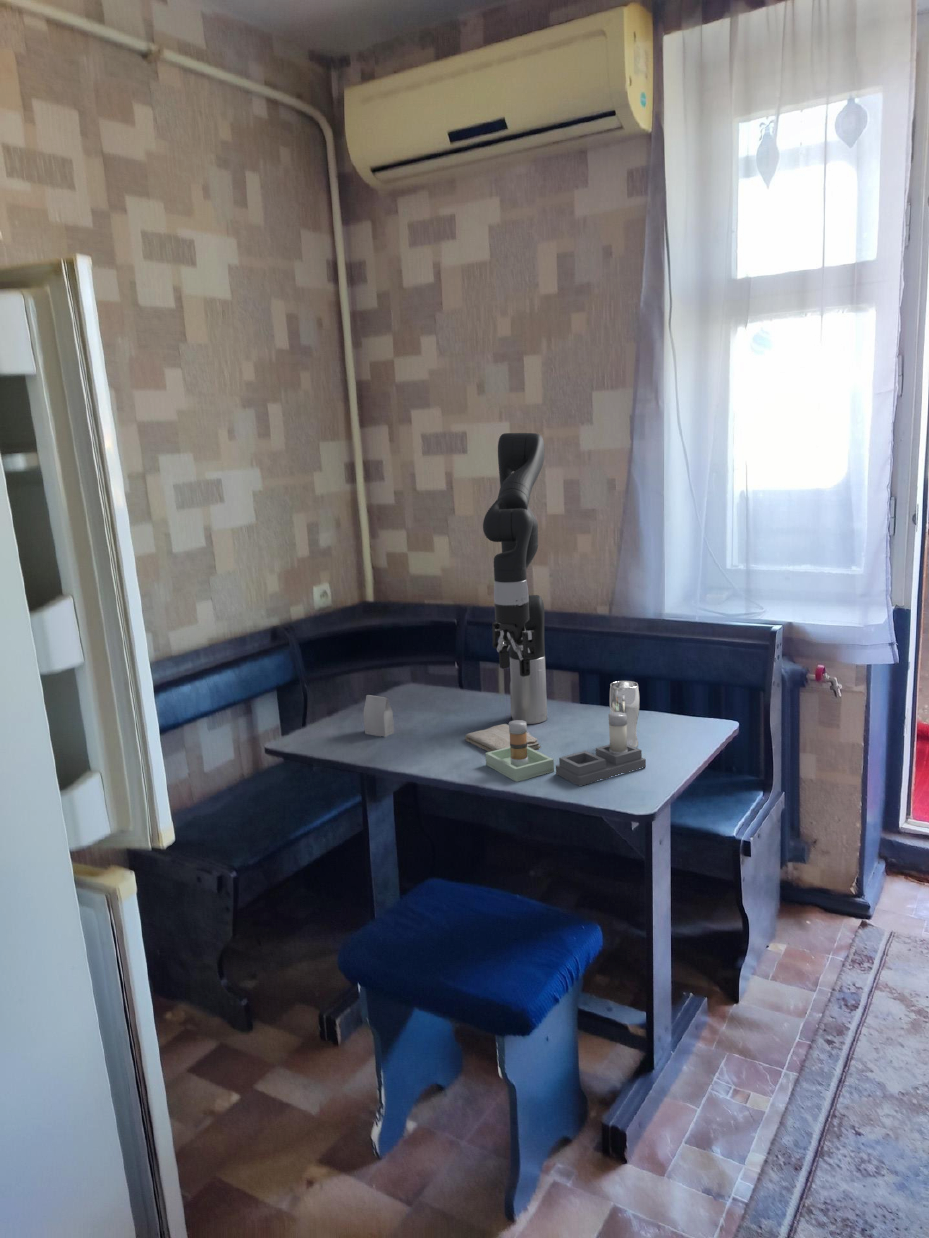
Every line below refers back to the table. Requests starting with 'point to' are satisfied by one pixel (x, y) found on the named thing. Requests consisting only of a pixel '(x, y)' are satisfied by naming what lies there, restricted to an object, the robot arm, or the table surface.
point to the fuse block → (598, 764)
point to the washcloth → (497, 738)
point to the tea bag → (378, 716)
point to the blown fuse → (518, 743)
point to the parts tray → (535, 767)
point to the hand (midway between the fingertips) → (514, 671)
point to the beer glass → (626, 706)
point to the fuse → (618, 732)
